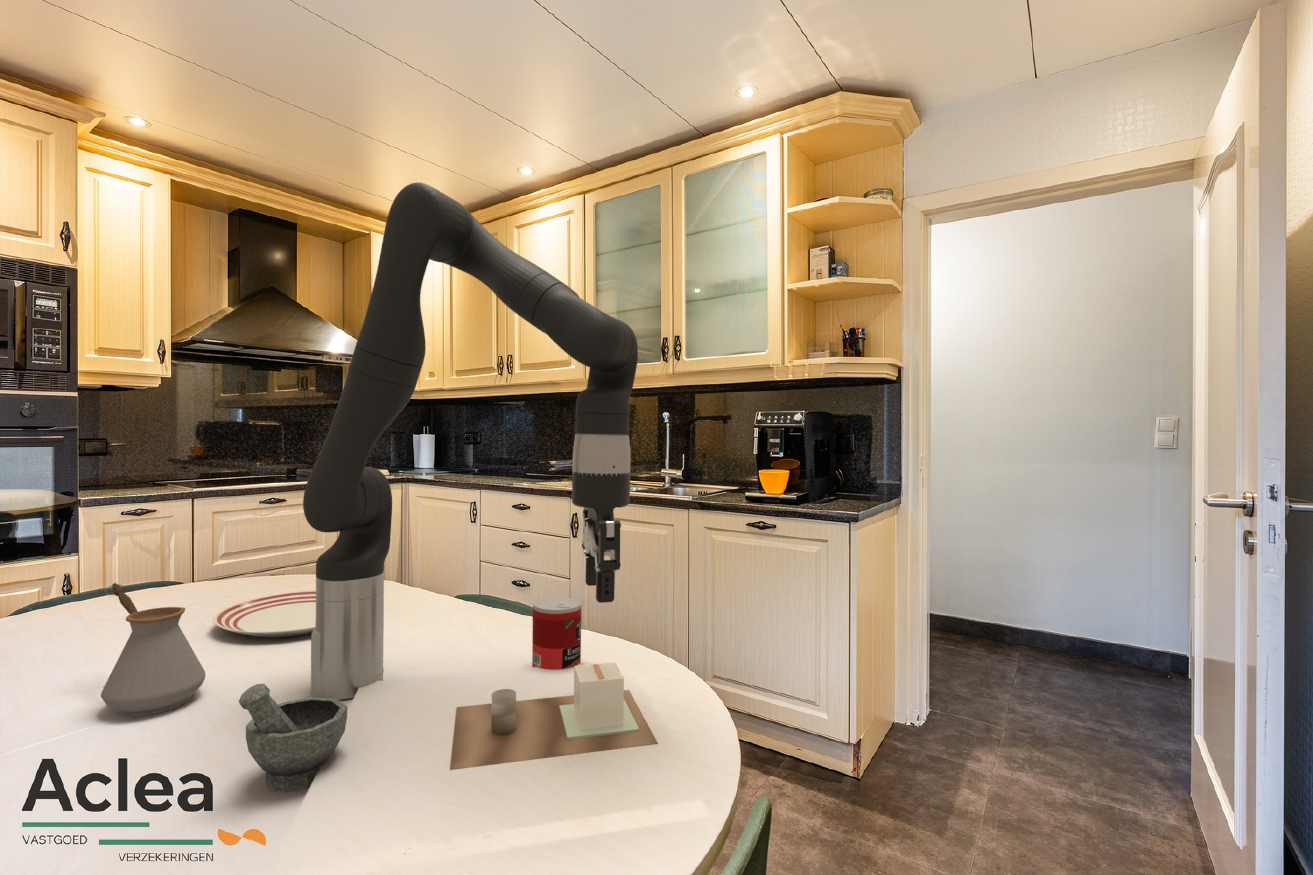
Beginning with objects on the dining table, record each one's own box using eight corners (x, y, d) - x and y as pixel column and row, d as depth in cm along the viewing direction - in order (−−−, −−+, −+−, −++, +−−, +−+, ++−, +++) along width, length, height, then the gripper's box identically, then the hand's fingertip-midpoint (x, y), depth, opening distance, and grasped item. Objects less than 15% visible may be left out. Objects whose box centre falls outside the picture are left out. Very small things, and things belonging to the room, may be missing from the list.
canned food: (571, 681, 97) (572, 611, 97) (524, 676, 99) (524, 607, 99) (587, 663, 105) (587, 598, 105) (542, 659, 106) (543, 595, 106)
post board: (449, 782, 69) (450, 729, 69) (456, 717, 84) (456, 673, 84) (657, 755, 75) (658, 706, 75) (628, 699, 91) (629, 659, 91)
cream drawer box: (623, 725, 79) (623, 677, 79) (579, 730, 78) (580, 681, 78) (614, 706, 84) (615, 661, 84) (573, 710, 83) (574, 664, 83)
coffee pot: (220, 698, 89) (220, 595, 89) (119, 731, 80) (119, 614, 79) (158, 667, 101) (158, 575, 100) (63, 692, 91) (63, 590, 91)
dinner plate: (399, 617, 129) (399, 601, 129) (257, 657, 106) (257, 638, 106) (325, 597, 144) (325, 583, 144) (186, 628, 121) (186, 611, 121)
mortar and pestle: (309, 746, 76) (310, 649, 76) (364, 764, 72) (365, 662, 72) (212, 795, 66) (213, 683, 66) (270, 819, 62) (271, 700, 62)
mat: (567, 739, 76) (567, 737, 76) (559, 707, 84) (559, 705, 84) (639, 731, 78) (639, 728, 78) (623, 700, 87) (623, 698, 87)
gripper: (642, 473, 75) (639, 606, 75) (618, 465, 89) (616, 578, 89) (580, 473, 73) (578, 610, 73) (566, 465, 87) (563, 580, 87)
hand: (598, 592), depth 81 cm, fingers open, 8 cm apart
